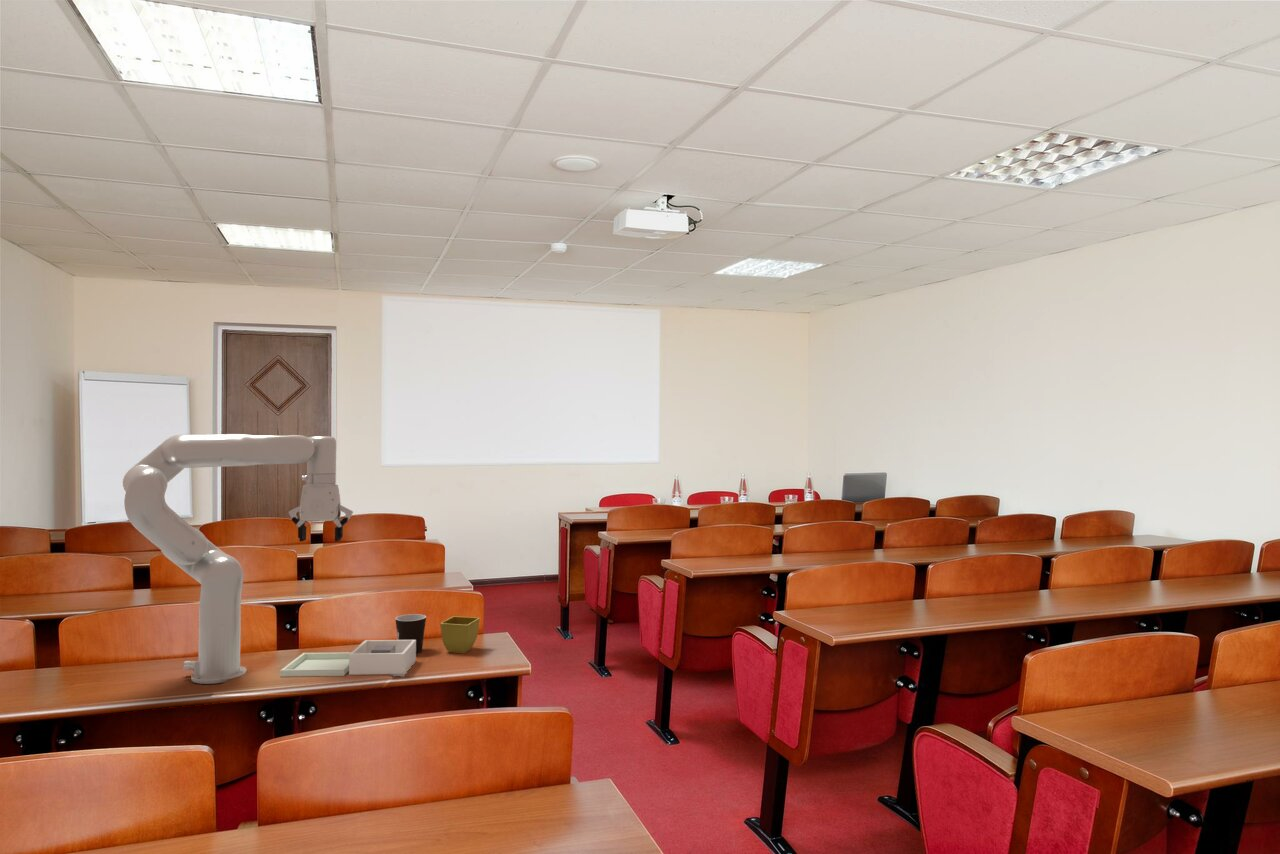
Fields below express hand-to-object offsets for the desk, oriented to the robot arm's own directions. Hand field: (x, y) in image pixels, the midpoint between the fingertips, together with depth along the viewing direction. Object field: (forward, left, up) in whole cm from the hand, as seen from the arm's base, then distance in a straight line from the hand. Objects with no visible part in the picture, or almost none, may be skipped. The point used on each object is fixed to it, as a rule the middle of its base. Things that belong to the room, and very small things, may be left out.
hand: (320, 540), depth 216 cm
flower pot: (+38, +7, -34) cm, 51 cm away
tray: (+4, -10, -33) cm, 35 cm away
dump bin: (+20, -10, -33) cm, 40 cm away
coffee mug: (+24, +8, -33) cm, 42 cm away
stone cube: (+20, -10, -32) cm, 40 cm away
